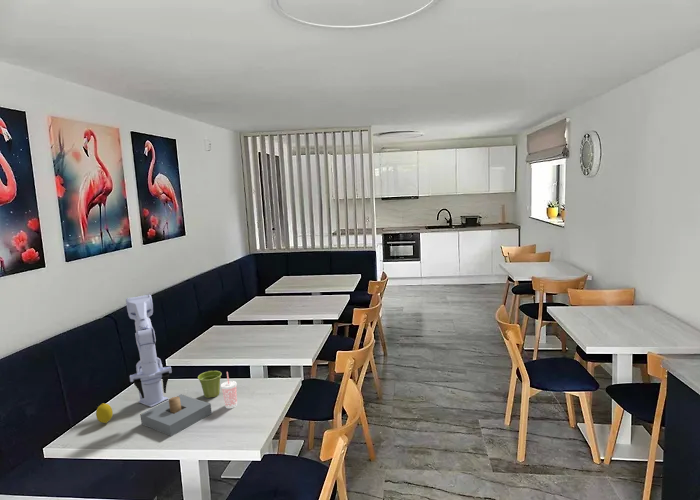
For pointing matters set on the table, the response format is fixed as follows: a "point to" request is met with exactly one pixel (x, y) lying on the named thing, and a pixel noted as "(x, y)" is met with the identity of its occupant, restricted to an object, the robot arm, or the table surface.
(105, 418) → the lemon
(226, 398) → the beverage cup
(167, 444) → the table surface
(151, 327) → the robot arm
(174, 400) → the peg
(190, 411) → the socket block
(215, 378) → the plant pot
